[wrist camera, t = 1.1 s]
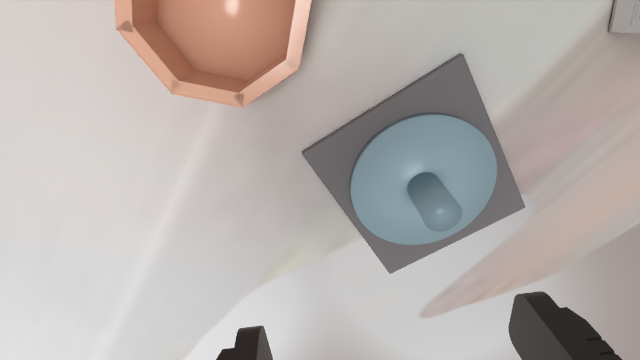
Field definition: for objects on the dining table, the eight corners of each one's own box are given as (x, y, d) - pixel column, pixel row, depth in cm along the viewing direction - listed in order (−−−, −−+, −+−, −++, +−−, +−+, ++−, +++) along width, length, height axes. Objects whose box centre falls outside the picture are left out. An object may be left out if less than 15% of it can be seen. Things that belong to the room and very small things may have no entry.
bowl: (240, -134, 22) (225, -169, 18) (336, 33, 27) (342, 39, 23) (111, -20, 25) (70, -25, 20) (219, 113, 30) (205, 133, 25)
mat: (460, 53, 28) (463, 54, 28) (522, 204, 36) (525, 207, 35) (302, 151, 32) (302, 154, 31) (388, 270, 39) (390, 273, 39)
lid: (460, 81, 29) (496, 99, 23) (510, 198, 35) (548, 233, 29) (322, 164, 32) (326, 196, 26) (389, 258, 38) (404, 300, 32)
